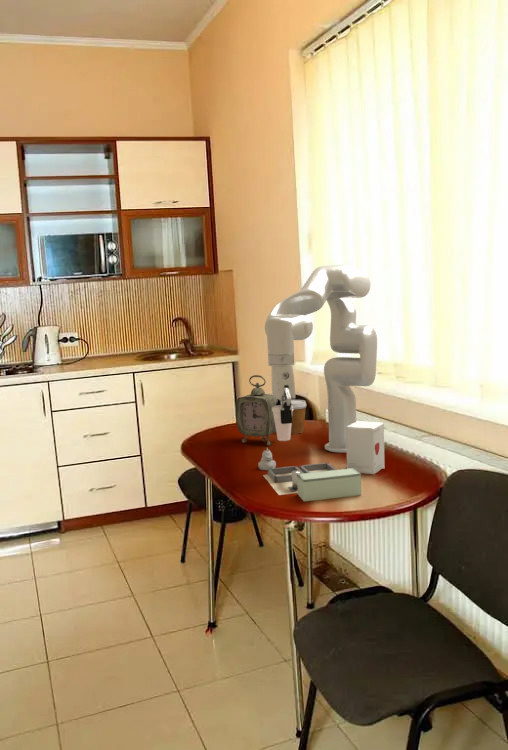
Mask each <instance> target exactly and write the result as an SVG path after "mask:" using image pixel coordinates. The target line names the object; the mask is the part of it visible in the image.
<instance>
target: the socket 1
mask: <svg viewBox="0 0 508 750" xmlns="http://www.w3.org/2000/svg"><path fill="white" fill-rule="evenodd" d="M295 470H298V471H300V474H301V473H303V472H302V471H301V470H300V467H298V466H297V465H293V466H283V467H281V466H280V467H275V468H272V469H268V470H267V475H269V476H270V478H271V479H272V480H273V481H274V483H280V482H289V481H292V474H291V475H282V476H276V474H286V473H292V471H295Z"/></svg>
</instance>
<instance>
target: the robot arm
mask: <svg viewBox="0 0 508 750" xmlns="http://www.w3.org/2000/svg"><path fill="white" fill-rule="evenodd" d="M370 290H371V280H370V277H369V275H368V274H367V273H366V272H365V271H363V270H361V269H359V268H356V267H354V266H350V265H348V264H347V265H346V264H336V265H333V264H332V265H321V266H319V267H316V268H315V269H314V270H313V271H312V273H311V274H310V275H309V277H308V278H307V280H306V281H305V283H304V284H303V286H302V287H301V288H300V290H299V291H298V292H295V293H293V294H292V295H290V296H288V297H286V298H283V300H281V301H280V302H278V303H277V304H276V305H274V306H273V308H272V309H271V311H270V312H269V314H268V316H267V318H266V321H265V323H264V332H265V334H266V339H267V343H266V344H267V362H268V363H267V366H269V367H271V392H272V394H271V395H273V396H274V397H275V406H276V405H277V406H278V405H281V409H282V410H280V411H281V423H282V424H288V423H292V407H291V400H296V386H295V385H296V384H295V375H294V369H293V367H294V366H295V351H294V350H295V349H294V348H295V347H294V345H295V344H294V341H303V340H306V339H308V338H309V337H310V336H311V335H312V333H313V330H314V325H313V324H314V323H313V321H312V319H311V318H310V317H308V316H307V315H310V314H314V313H315V312H318V311H319V310H321V309H322V308H323V307H324V305H325V303H327V304H328V307H329V309H330V332H329V333H330V335H329V346H330V349H331V350H332V351H333V352H335V353H338V354H353V355H354V354H356V355H357V354H359V357H349V356H347V357H346V356H345V357H344V356H336V357H332V358H331V357H330V358H329V359H328V360H327V361H326V362H325V364H324V366H323V374H324V375H323V376H324V380H325V383H326V385H325V386H326V391H327V392H326V393H327V410H328V411H327V412H328V413H327V414H328V415H327V417H328V441H329V442H327V443H325V444H324V449H325V451H329V452H332V453H342V454H343V453H347V448H346V427H347V426H349V425H351V424H352V423H355V422H357V398H356V395H355V393H354V390H353V389H352V388H351V387H369V386H371V385H373V383H374V382H375V380H376V374H377V355H378V338H377V337H378V336H377V332H376V330H375V328H373V326H370V325H367V324H366V325H364V324H357V310H356V307H355V305H354V304H353V302H352V301H351V300H350V299H353V298H357V299H360V298H364V297H366V296H367V295H368V294H369V293H370ZM283 398H285V399H283ZM283 402H284V403H283Z"/></svg>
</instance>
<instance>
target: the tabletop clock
mask: <svg viewBox="0 0 508 750" xmlns="http://www.w3.org/2000/svg"><path fill="white" fill-rule="evenodd" d="M253 378H260V379H262V380H263V383H262V384H259V382H255V384H254V383H252V381H251V380H252V379H253ZM248 382H249V384H250V386H253V387H254V388H252V389H251V391H250V394H247V395H244V396H241V397H238V398H237V400H236V402H235V417H236V426H237V430H238V433H240V434H242V435H244V436H245V437H244V438H242V439H241V442H242V443H243V444H245V443H247V439H248V437H249V436H250V437H257V438H259V437H261V441H262V442H263V441H264V442H266V439H267V442H266V446H268V447H269V446H271V445H272V441H270V435H271V434H274V433H276V427H275V421H274V415H273V411H272V407H273V406H275V397H274V396H273V394H270V393H265V390H264V389H263V388H262V387H265V385H266V382H267V381H266V378H265V377H263V376H262V375H259V374H254V375H251V376H250V377H249V379H248ZM276 406H277V405H276Z"/></svg>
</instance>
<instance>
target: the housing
mask: <svg viewBox="0 0 508 750" xmlns="http://www.w3.org/2000/svg"><path fill="white" fill-rule="evenodd" d="M297 484H298V493H297V495H298V497H300V499H301V500H302V501H303V502H309V501H310V502H312V501H321V500H329V499H335V498H336V499H337V498H346V497H353V496H354V497H356V496H362V473H359V472H358V471H357V470H355V469H354V468H348V469H347V468H341V469H339V468H338V469H336V470H329V471H320V472H310V473H301V474H297Z"/></svg>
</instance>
